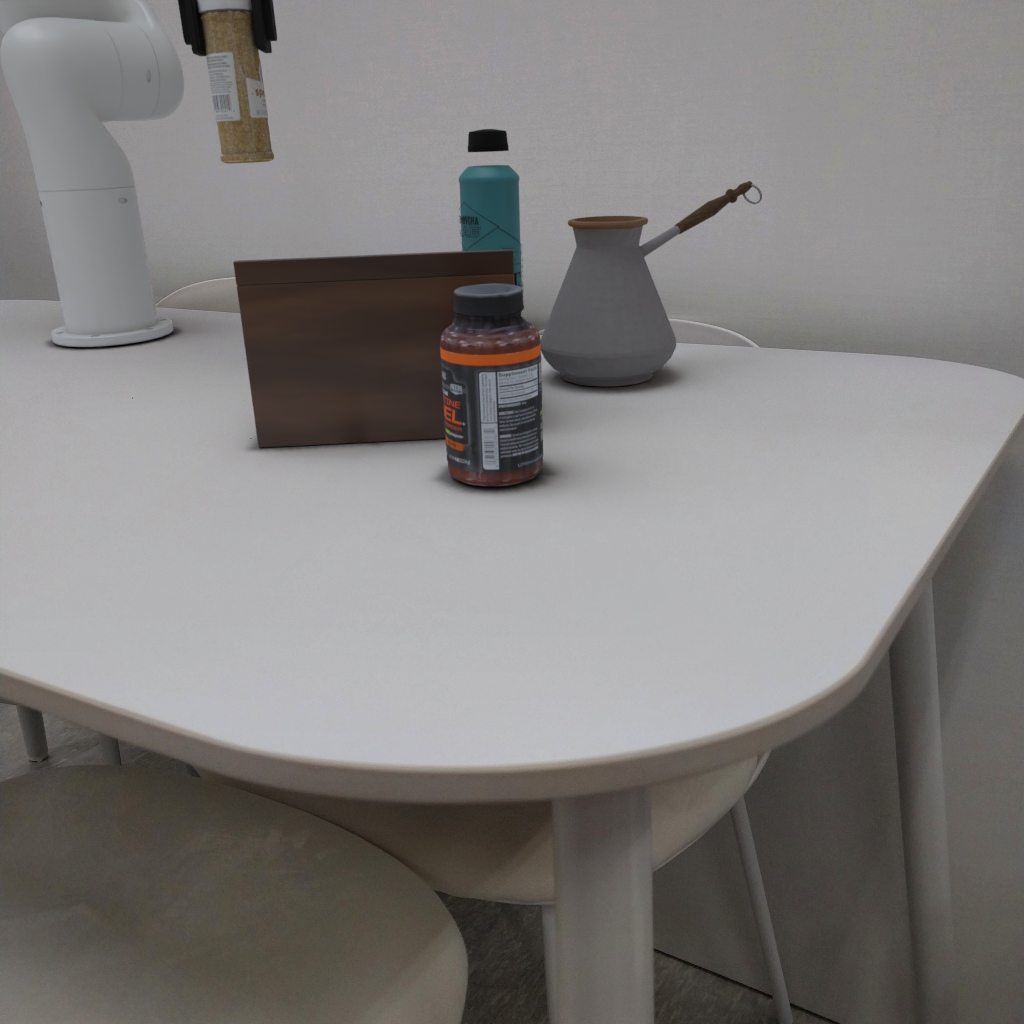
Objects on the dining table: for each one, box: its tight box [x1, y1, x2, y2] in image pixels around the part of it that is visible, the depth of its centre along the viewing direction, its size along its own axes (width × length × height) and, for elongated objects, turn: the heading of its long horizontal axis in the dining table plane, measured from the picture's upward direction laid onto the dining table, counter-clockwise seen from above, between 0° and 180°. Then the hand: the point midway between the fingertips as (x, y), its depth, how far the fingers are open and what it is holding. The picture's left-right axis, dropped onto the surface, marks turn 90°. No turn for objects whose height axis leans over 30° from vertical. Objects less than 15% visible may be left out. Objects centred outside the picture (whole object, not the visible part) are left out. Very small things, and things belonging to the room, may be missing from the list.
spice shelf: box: [232, 249, 514, 448], centre depth 72 cm, size 16×18×12 cm
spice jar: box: [197, 0, 275, 165], centre depth 81 cm, size 5×5×13 cm
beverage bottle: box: [458, 128, 525, 303], centre depth 101 cm, size 6×7×20 cm
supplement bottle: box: [440, 284, 544, 488], centre depth 58 cm, size 6×6×11 cm
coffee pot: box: [540, 180, 763, 387], centre depth 82 cm, size 21×12×15 cm, turn 119°
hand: (232, 50), depth 80 cm, fingers closed on spice jar, 4 cm apart
